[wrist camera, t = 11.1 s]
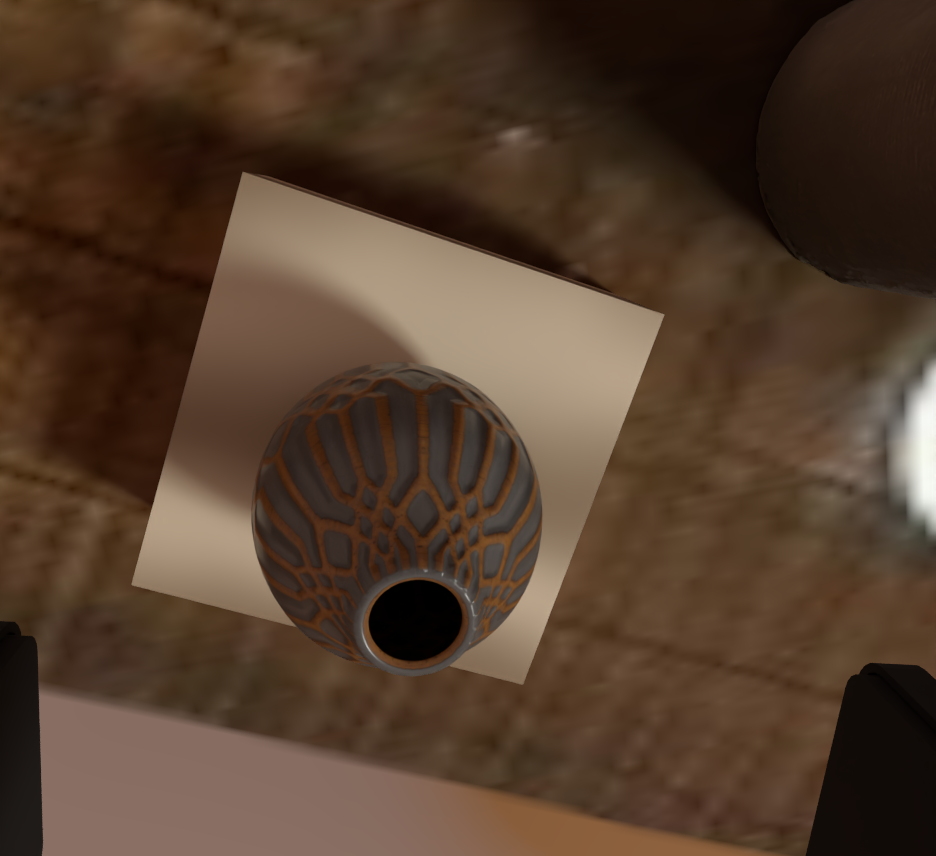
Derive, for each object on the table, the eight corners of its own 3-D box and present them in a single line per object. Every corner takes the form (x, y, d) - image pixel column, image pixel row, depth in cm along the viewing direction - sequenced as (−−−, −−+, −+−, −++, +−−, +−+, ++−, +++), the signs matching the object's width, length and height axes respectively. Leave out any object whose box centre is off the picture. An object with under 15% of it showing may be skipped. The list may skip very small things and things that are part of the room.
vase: (527, 346, 25) (623, 467, 16) (493, 569, 27) (563, 774, 19) (270, 323, 23) (235, 441, 15) (257, 559, 26) (221, 773, 17)
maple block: (270, 176, 29) (242, 171, 23) (610, 292, 31) (664, 314, 25) (177, 512, 31) (131, 585, 26) (498, 599, 33) (522, 684, 28)
